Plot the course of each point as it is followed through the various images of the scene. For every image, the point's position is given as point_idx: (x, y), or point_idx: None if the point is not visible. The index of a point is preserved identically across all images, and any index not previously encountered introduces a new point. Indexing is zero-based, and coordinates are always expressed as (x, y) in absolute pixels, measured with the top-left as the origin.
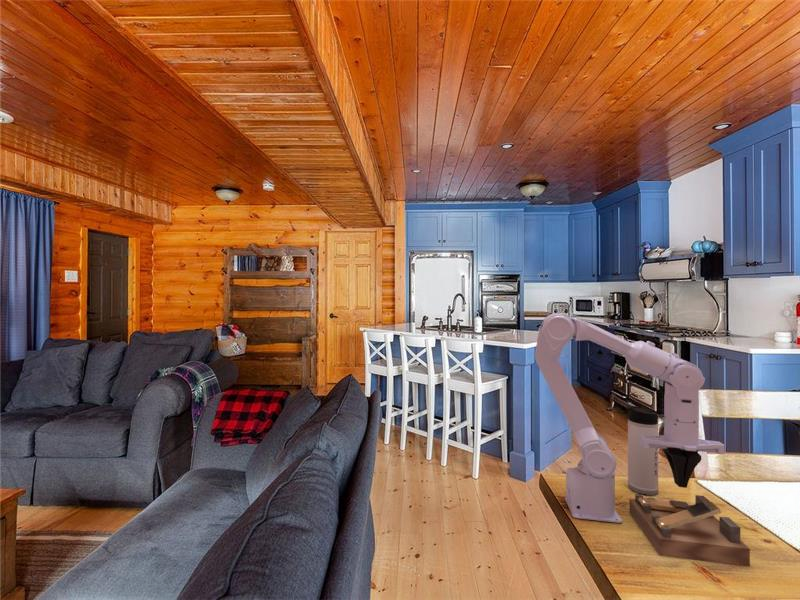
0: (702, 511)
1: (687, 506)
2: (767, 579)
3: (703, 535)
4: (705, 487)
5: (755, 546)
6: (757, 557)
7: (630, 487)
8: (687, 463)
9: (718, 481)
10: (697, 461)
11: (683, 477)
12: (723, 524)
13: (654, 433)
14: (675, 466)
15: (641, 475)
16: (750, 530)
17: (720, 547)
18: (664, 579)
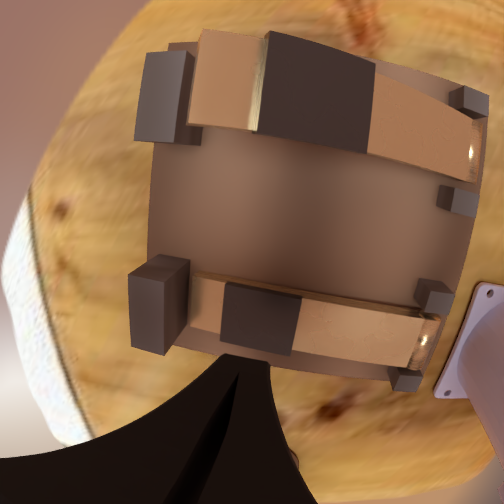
0: (319, 46)
1: (238, 304)
2: (188, 14)
3: None
4: (90, 437)
5: (101, 175)
6: (134, 114)
7: (298, 467)
8: (165, 498)
9: (62, 442)
10: (35, 472)
11: (237, 398)
12: (187, 108)
13: None
14: (303, 488)
15: None
16: (70, 260)
17: None
18: (485, 18)
